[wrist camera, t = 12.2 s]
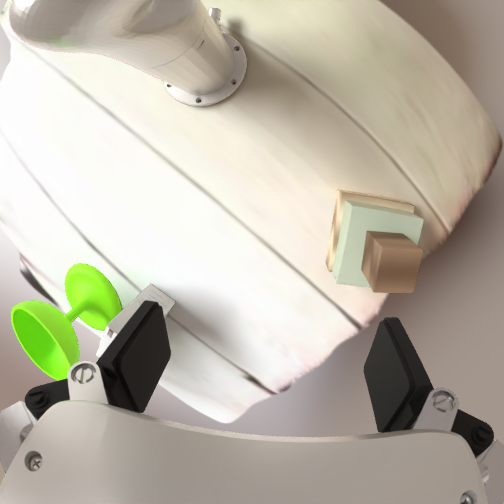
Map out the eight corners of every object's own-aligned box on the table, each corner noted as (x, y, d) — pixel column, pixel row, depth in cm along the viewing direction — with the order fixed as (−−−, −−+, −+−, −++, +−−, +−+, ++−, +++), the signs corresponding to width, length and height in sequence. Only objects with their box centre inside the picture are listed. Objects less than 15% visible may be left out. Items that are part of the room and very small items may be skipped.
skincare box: (160, 327, 49) (125, 379, 35) (134, 310, 48) (94, 357, 34) (177, 299, 46) (140, 353, 32) (149, 279, 45) (104, 326, 31)
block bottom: (336, 189, 37) (341, 192, 33) (404, 201, 36) (415, 206, 32) (325, 260, 41) (328, 271, 37) (389, 268, 40) (397, 278, 36)
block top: (345, 200, 33) (352, 205, 29) (411, 212, 32) (423, 219, 29) (332, 270, 37) (336, 283, 33) (394, 278, 36) (404, 290, 32)
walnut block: (366, 230, 30) (382, 247, 25) (402, 233, 30) (423, 250, 24) (360, 269, 32) (373, 292, 26) (395, 270, 31) (413, 292, 26)
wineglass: (60, 256, 47) (1, 294, 30) (117, 272, 46) (55, 323, 29) (72, 318, 53) (27, 361, 36) (126, 338, 51) (82, 395, 35)
